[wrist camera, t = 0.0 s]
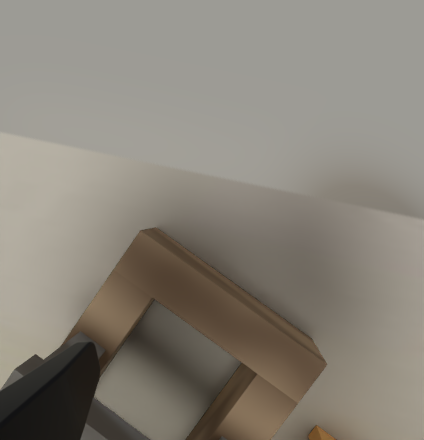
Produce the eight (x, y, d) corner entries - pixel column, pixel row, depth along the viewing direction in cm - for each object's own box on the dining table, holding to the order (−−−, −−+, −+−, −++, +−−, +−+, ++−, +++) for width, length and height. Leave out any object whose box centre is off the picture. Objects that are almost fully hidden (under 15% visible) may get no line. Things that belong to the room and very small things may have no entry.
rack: (178, 516, 25) (143, 711, 15) (32, 405, 25) (-92, 524, 16) (311, 338, 24) (364, 425, 14) (155, 227, 24) (104, 237, 15)
